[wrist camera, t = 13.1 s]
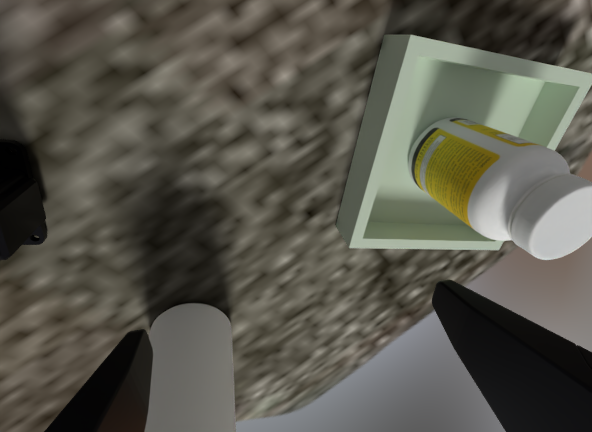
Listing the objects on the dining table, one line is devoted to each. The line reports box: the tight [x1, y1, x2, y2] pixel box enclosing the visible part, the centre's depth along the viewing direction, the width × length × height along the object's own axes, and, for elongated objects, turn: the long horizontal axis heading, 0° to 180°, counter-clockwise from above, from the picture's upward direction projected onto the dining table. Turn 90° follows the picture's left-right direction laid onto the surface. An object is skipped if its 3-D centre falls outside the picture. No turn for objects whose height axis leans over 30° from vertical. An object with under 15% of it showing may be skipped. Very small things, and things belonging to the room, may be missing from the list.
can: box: [145, 303, 236, 432], centre depth 22 cm, size 6×6×12 cm
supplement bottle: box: [408, 117, 592, 260], centre depth 18 cm, size 5×5×10 cm
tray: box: [336, 35, 592, 250], centre depth 22 cm, size 13×13×3 cm
